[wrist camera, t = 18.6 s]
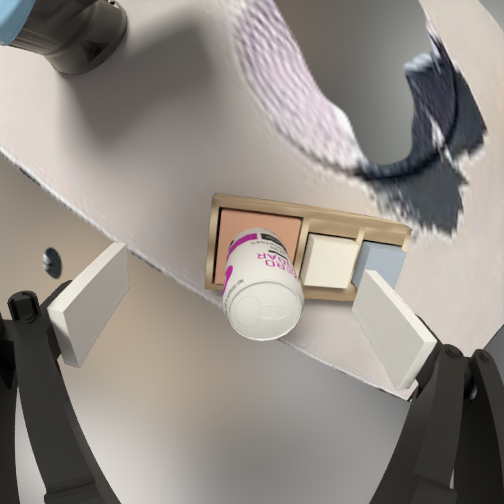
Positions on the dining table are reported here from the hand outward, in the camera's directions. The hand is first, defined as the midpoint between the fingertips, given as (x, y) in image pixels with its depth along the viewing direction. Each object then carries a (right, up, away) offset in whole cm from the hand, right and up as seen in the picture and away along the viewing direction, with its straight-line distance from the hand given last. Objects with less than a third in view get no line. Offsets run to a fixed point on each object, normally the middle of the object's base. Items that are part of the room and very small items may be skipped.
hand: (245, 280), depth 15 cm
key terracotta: (+1, +3, +30) cm, 30 cm away
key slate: (+21, 0, +30) cm, 36 cm away
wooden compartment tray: (+10, +2, +31) cm, 32 cm away
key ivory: (+12, +1, +29) cm, 31 cm away
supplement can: (+1, +1, +26) cm, 26 cm away
